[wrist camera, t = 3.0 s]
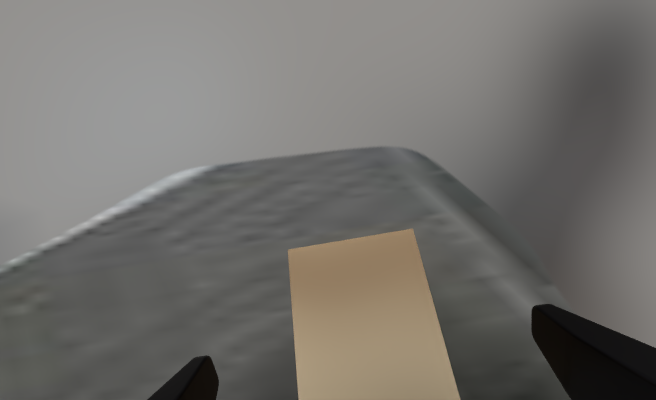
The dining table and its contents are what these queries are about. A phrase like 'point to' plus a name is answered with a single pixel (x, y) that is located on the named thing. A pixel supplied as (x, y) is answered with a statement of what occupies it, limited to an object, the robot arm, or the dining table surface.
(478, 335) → the dining table surface
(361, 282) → the tan rectangular block
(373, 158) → the dining table surface
